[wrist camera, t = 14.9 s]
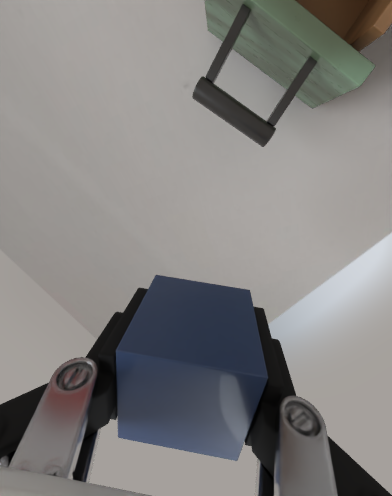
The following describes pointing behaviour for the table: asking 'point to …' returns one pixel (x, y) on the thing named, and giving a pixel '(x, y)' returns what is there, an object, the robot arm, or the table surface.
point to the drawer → (291, 52)
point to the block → (190, 368)
